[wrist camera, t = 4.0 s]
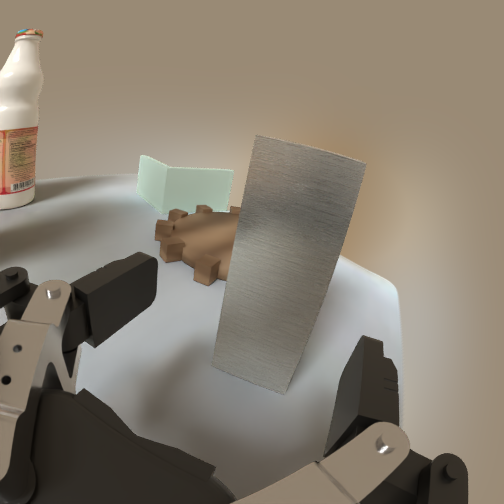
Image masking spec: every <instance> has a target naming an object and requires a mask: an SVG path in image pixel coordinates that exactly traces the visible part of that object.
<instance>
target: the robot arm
mask: <svg viewBox="0 0 504 504" xmlns="http://www.w3.org/2000/svg"><path fill="white" fill-rule="evenodd" d="M157 270H158V262H157V259H156V258H154V257H152V256H149V255H147V254H144V253H142V252H137V253H135V254H133V255H131V256H129V257H127V258H125V259H121V260H117V261H113V262H111V263H109V264H107V265H105V266H104V267H101V268H99V269H97V270H96V272H95V271H94V272H92V273H90V274H88V275H86V276H84V277H82V278H80V279H78V280H76V281H75V282H73V283H71V284H68V283H67V282H64V281H61V280H50V281H46V282H44V283H42V284H40V285H39V286H38V285H35V284H32V283H29V279H28V273H27V271H26V270H25V269H24V268H21V267H11V268H7V269H5V270H3V271H1V272H0V309H1V308H2V307H4V308H5V312H6V315H7V318H8V321H7V322H6V323H5V324H3V325H2V326H0V504H358V503H360V504H468V472H467V468H466V466H465V464H464V462H463V461H462V460H461V459H460V458H459V457H457V456H456V455H453V454H450V453H444V454H441V455H439V456H437V457H436V458H435V459H434V460H433V461H432V460H430V459H428V458H426V457H424V456H422V455H420V454H418V453H416V452H414V451H412V450H411V449H410V443H409V439H408V437H407V435H406V434H405V432H404V431H403V430H402V429H401V428H399V395H398V384H397V383H398V375H397V369H396V367H395V365H394V363H393V362H392V360H391V359H389V358H386V357H384V353H383V342H382V341H380V340H377V339H374V338H370V337H367V336H364V335H363V336H362V337H361V338H360V340H359V342H358V343H357V345H356V347H355V349H354V351H353V353H352V355H351V357H350V359H349V361H348V362H347V364H346V366H345V368H344V370H343V372H342V375H341V378H340V381H339V386H338V391H337V397H336V402H335V407H334V412H333V417H332V421H331V426H330V430H329V435H328V439H327V443H326V447H325V451H324V455H323V457H326V458H325V459H324V460H322V461H320V462H317V461H315V462H312V463H310V464H308V465H306V466H305V467H303V468H301V469H299V470H298V471H296V472H294V473H292V474H291V475H289V476H287V477H285V478H283V479H281V480H279V481H278V482H276V483H274V484H272V485H270V486H268V487H266V488H264V489H262V490H260V491H257V492H255V493H253V494H251V495H249V496H247V497H244V498H242V499H240V500H237V499H236V498H235V496H234V495H233V494H232V492H231V491H230V490H229V489H228V488H227V487H226V486H225V485H224V484H223V483H222V482H221V481H219V480H218V479H217V478H215V477H214V476H213V475H214V471H215V468H216V467H215V466H213V465H211V464H208V463H206V462H204V461H202V460H200V459H198V458H196V457H194V456H191V455H189V454H187V453H185V452H183V451H182V450H180V449H177V448H174V447H170V446H167V445H164V444H160V443H157V442H154V441H151V440H148V439H145V438H142V437H139V436H137V435H136V434H134V433H133V432H132V431H131V430H130V429H129V428H128V427H127V425H126V424H125V423H124V422H123V421H122V420H121V419H120V418H119V417H118V416H117V415H116V413H115V412H114V411H113V410H112V409H111V408H110V407H109V406H107V405H106V404H105V403H103V402H102V401H100V400H99V399H98V398H96V397H95V396H94V395H92V394H91V393H90V392H88V391H87V390H86V389H85V388H84V389H82V390H81V391H80V392H79V393H78V394H77V395H76V391H75V386H76V379H77V373H78V367H79V361H80V356H81V350H82V348H81V343H83V342H84V341H85V342H87V343H88V344H90V345H91V346H92V347H94V348H96V347H97V346H99V345H100V344H101V343H102V342H104V341H105V340H106V339H108V338H109V337H110V336H112V335H113V334H114V333H115V332H117V331H118V330H119V329H121V328H122V327H123V326H124V325H126V324H127V323H128V322H130V321H131V320H132V319H134V318H135V317H136V316H138V315H139V314H140V313H141V312H143V311H144V310H145V309H147V308H148V307H149V306H150V305H151V304H152V303H153V301H154V299H155V296H156V290H157Z"/></svg>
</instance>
